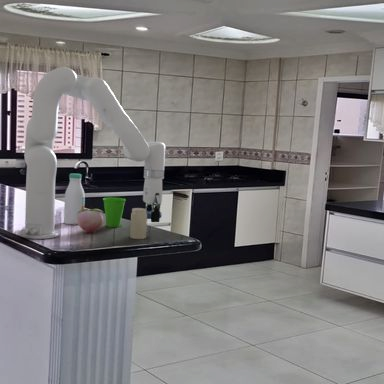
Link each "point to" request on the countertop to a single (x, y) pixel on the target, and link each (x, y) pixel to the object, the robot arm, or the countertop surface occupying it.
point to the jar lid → (150, 214)
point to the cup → (113, 211)
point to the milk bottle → (74, 199)
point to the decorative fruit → (90, 219)
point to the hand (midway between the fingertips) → (152, 220)
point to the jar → (138, 223)
